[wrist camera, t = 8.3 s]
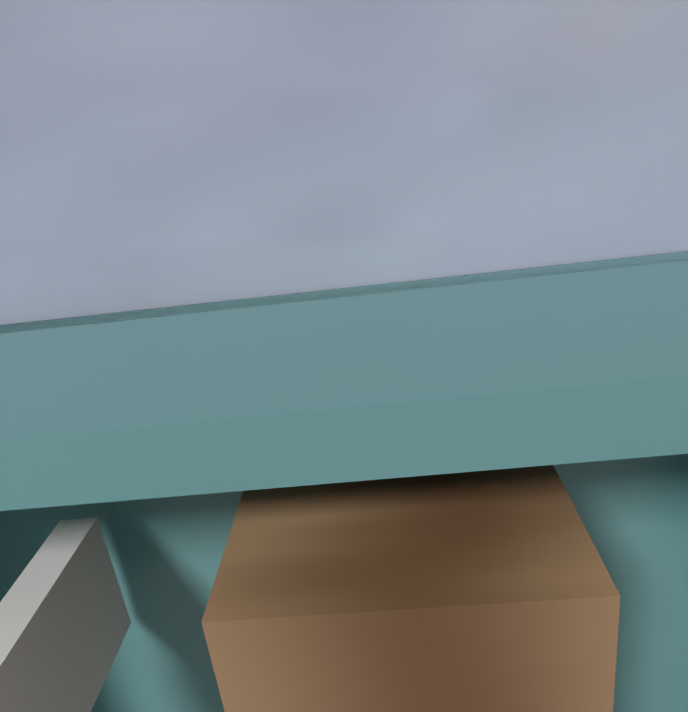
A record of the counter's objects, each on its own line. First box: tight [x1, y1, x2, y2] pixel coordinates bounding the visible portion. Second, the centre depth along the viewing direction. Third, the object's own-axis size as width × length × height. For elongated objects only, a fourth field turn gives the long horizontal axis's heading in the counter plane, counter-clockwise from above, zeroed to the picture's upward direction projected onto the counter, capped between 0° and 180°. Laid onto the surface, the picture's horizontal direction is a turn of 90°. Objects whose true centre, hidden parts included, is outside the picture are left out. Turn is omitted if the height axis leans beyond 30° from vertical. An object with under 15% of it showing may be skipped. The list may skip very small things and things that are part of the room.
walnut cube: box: [201, 465, 620, 712], centre depth 11 cm, size 5×5×5 cm
